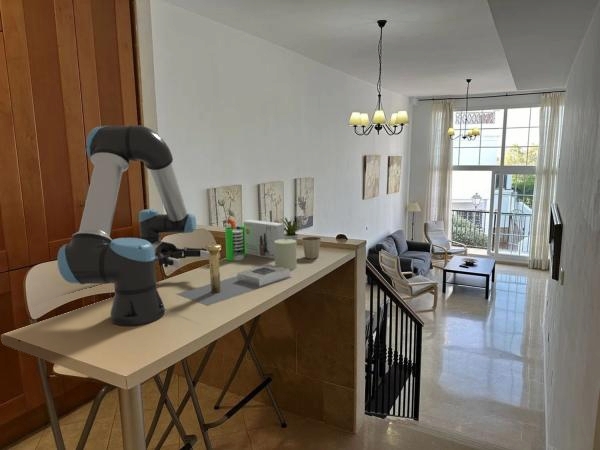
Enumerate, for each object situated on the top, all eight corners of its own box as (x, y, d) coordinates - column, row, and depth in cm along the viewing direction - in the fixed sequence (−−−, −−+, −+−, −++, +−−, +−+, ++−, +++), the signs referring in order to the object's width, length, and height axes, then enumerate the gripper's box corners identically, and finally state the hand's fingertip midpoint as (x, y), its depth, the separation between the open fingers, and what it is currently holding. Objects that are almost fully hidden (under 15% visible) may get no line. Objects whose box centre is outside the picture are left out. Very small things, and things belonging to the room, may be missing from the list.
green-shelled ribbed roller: (238, 261, 194) (236, 221, 191) (222, 260, 196) (220, 220, 193) (247, 256, 202) (246, 218, 199) (232, 255, 205) (230, 217, 202)
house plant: (270, 249, 216) (269, 216, 214) (280, 243, 229) (279, 212, 227) (297, 250, 212) (296, 217, 209) (306, 244, 225) (305, 213, 222)
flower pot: (298, 255, 202) (298, 237, 200) (317, 253, 205) (317, 235, 203) (304, 260, 193) (304, 241, 192) (325, 258, 196) (324, 239, 194)
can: (298, 265, 185) (297, 237, 183) (295, 271, 176) (295, 242, 174) (276, 265, 186) (275, 237, 184) (273, 271, 177) (272, 242, 175)
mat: (207, 307, 138) (207, 305, 138) (176, 295, 150) (176, 293, 150) (292, 278, 166) (292, 277, 166) (260, 270, 178) (259, 269, 178)
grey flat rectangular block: (259, 287, 155) (259, 278, 155) (237, 280, 163) (237, 272, 163) (290, 276, 167) (290, 268, 166) (268, 271, 175) (268, 263, 174)
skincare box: (244, 254, 208) (242, 220, 205) (251, 251, 212) (250, 219, 209) (278, 260, 195) (277, 224, 192) (285, 257, 199) (284, 223, 197)
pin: (214, 295, 148) (211, 248, 145) (205, 292, 151) (202, 246, 148) (226, 291, 151) (224, 245, 149) (217, 288, 155) (214, 243, 152)
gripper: (191, 254, 180) (224, 263, 166) (134, 267, 162) (165, 278, 148) (190, 237, 179) (223, 243, 165) (133, 248, 161) (164, 256, 147)
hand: (196, 260), depth 157 cm, fingers open, 13 cm apart
